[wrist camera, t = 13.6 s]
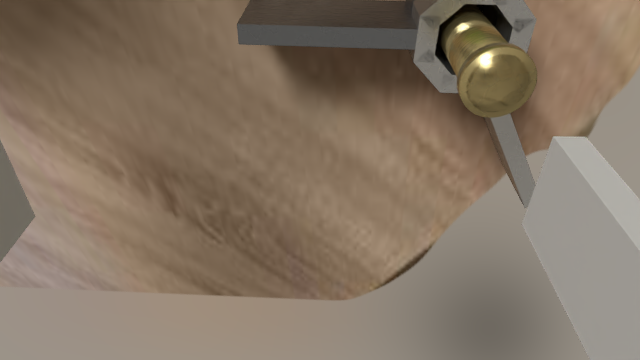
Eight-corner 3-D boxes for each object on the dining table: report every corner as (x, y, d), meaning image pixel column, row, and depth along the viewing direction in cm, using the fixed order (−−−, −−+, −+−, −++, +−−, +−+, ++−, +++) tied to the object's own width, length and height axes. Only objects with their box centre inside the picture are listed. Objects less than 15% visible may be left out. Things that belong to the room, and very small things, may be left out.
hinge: (261, 154, 53) (251, 198, 46) (249, -47, 41) (232, -26, 34) (513, 163, 52) (538, 208, 46) (576, -38, 40) (623, -15, 34)
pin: (419, 37, 44) (453, 116, 31) (427, -17, 42) (468, 46, 29) (470, 38, 44) (525, 118, 31) (481, -15, 42) (546, 49, 29)
